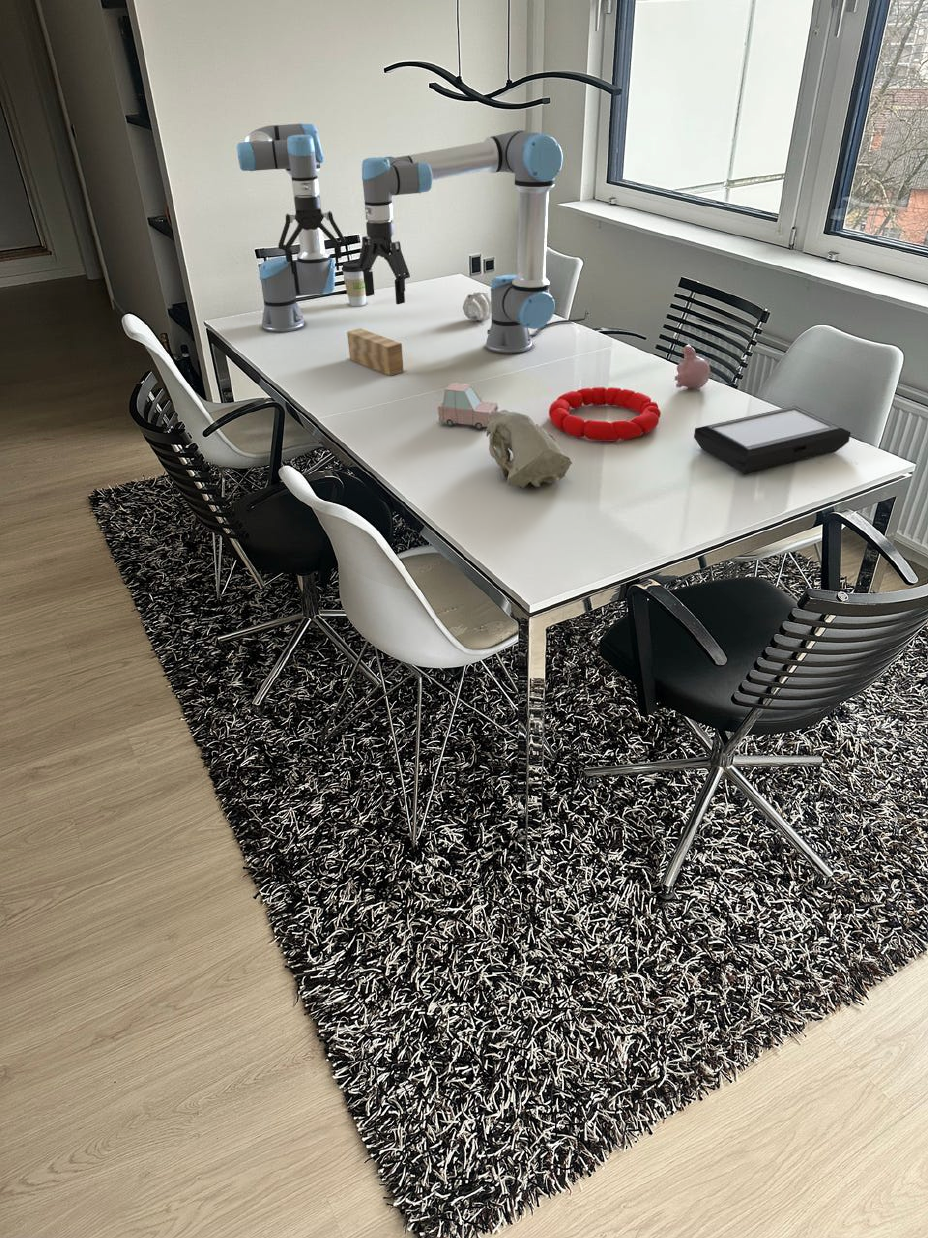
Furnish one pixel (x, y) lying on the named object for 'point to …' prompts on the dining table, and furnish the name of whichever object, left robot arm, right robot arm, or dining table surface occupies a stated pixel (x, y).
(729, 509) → the dining table surface
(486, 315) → the seashell
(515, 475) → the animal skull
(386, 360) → the bar
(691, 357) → the figurine
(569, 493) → the dining table surface
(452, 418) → the toy car
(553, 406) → the decorative ring
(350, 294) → the coffee cup
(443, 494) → the dining table surface
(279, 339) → the dining table surface
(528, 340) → the right robot arm
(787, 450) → the electronic device
